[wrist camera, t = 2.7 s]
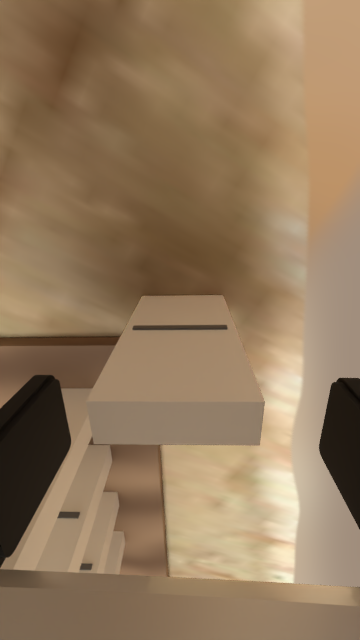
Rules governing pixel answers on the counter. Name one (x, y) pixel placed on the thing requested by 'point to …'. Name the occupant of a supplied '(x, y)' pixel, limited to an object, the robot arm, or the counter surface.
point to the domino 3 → (101, 535)
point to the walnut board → (127, 459)
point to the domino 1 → (55, 484)
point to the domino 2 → (77, 513)
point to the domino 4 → (177, 378)
